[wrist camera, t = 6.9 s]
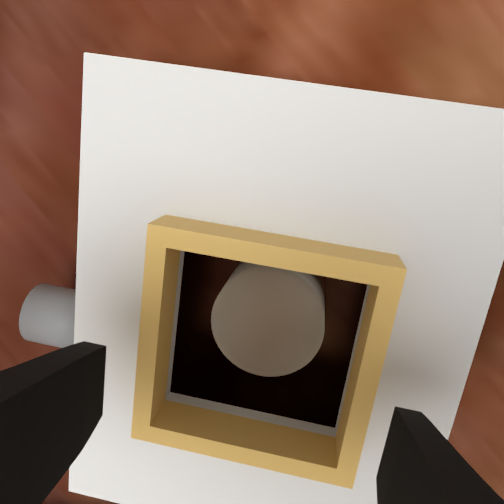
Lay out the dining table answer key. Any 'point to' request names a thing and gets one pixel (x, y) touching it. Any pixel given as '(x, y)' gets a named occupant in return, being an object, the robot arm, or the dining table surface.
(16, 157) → the dining table surface
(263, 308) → the cylinder
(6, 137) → the dining table surface
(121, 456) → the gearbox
